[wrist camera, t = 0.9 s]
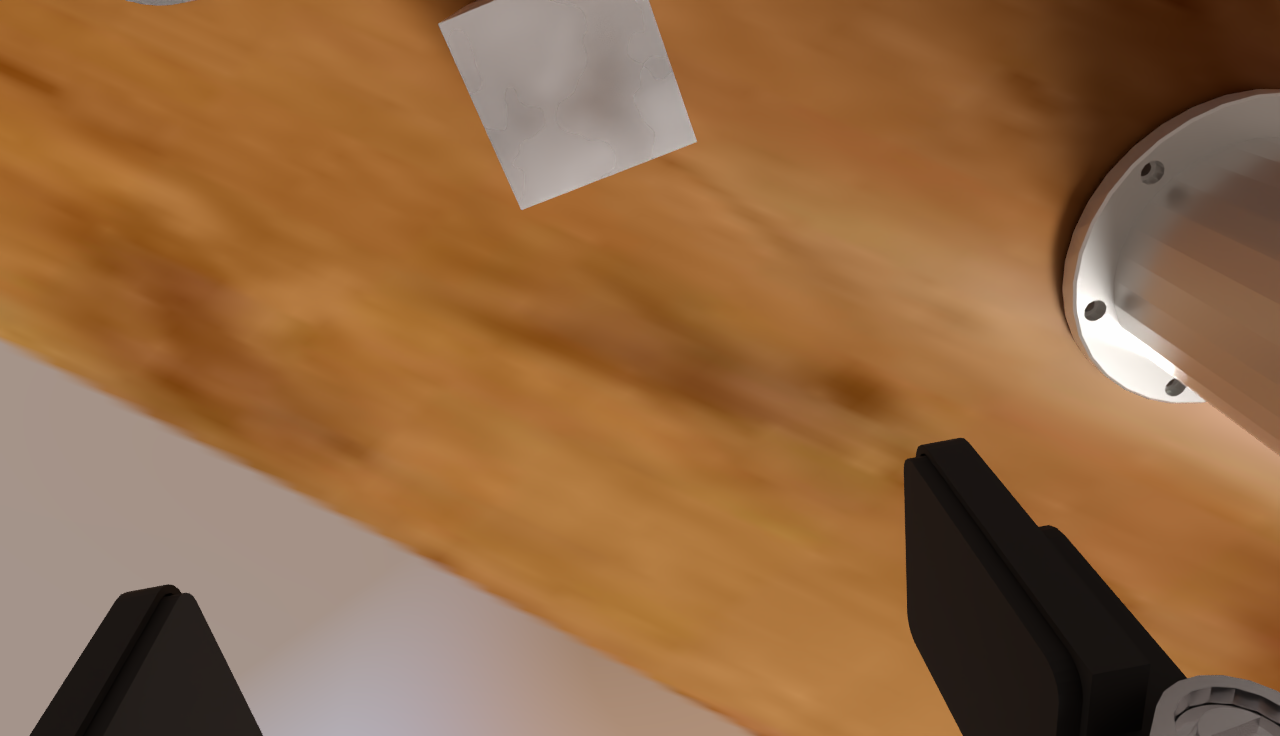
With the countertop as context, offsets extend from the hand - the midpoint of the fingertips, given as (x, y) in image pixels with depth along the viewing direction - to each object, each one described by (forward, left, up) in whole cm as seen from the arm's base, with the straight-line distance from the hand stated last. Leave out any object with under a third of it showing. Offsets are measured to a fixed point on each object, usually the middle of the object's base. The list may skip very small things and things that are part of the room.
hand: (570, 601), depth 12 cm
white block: (-2, -4, -23) cm, 24 cm away
